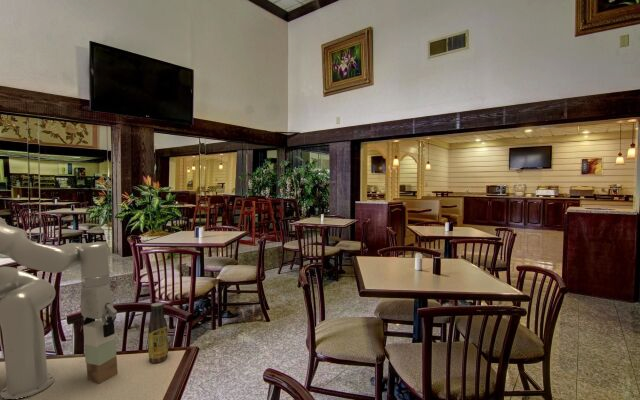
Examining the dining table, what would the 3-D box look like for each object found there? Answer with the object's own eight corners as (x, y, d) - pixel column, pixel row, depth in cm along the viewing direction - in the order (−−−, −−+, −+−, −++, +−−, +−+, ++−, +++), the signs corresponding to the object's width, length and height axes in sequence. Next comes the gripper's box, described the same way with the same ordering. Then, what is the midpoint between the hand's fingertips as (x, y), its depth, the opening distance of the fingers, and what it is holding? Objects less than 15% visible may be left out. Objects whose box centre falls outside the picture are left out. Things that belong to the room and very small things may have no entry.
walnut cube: (87, 380, 109) (86, 361, 108) (106, 370, 114) (105, 353, 114) (99, 384, 106) (97, 365, 106) (117, 374, 111) (116, 356, 111)
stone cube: (84, 343, 108) (83, 325, 108) (103, 335, 113) (102, 318, 113) (96, 347, 105) (94, 328, 105) (114, 338, 111) (113, 320, 110)
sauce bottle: (154, 366, 116) (150, 309, 115) (145, 360, 119) (142, 305, 118) (172, 357, 121) (169, 303, 120) (163, 352, 125) (160, 300, 124)
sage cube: (85, 362, 108) (84, 344, 107) (103, 353, 113) (101, 336, 113) (99, 365, 106) (98, 346, 105) (116, 356, 111) (115, 338, 111)
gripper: (67, 281, 109) (71, 333, 110) (101, 287, 101) (104, 342, 102) (91, 275, 115) (95, 324, 116) (124, 280, 108) (128, 332, 109)
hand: (99, 333), depth 109 cm, fingers open, 9 cm apart
